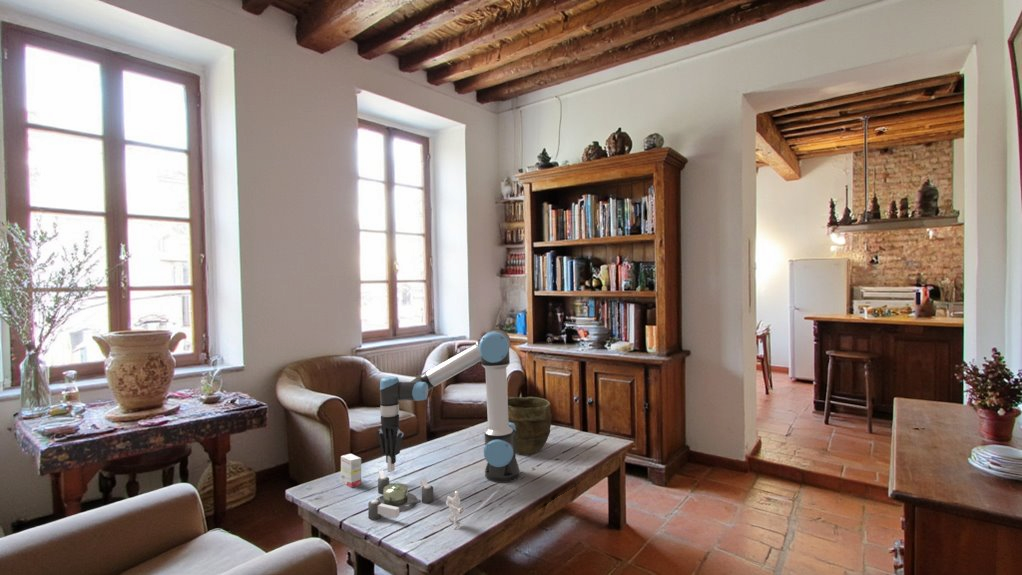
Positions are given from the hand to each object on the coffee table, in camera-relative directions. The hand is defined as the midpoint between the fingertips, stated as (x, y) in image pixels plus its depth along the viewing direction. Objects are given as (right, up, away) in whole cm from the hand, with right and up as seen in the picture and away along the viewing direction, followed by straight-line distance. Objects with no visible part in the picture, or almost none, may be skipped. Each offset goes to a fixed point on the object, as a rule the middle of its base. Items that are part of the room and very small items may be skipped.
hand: (391, 470), depth 200 cm
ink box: (-17, -6, +1) cm, 18 cm away
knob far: (-3, -5, -4) cm, 7 cm away
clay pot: (+58, -6, +41) cm, 71 cm away
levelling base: (+5, -6, -20) cm, 21 cm away
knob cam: (+5, -6, -29) cm, 30 cm away
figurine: (+30, -7, -33) cm, 45 cm away
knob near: (+16, -6, -12) cm, 21 cm away
